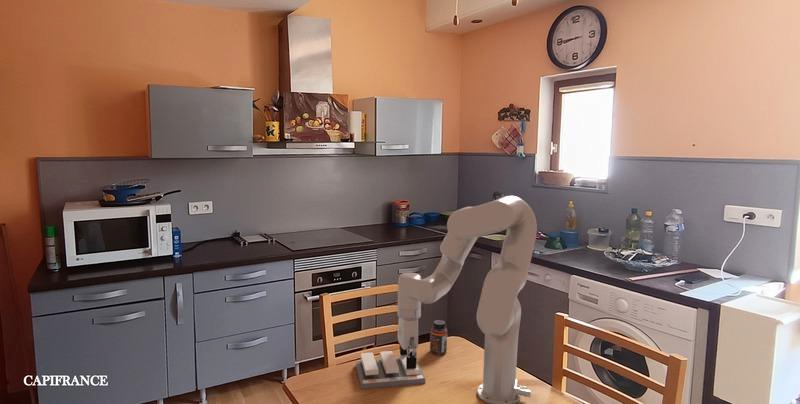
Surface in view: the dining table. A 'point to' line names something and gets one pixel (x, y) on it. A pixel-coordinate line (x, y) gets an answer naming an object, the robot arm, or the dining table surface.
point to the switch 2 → (407, 371)
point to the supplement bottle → (438, 338)
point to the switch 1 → (369, 363)
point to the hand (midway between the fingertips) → (407, 361)
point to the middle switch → (389, 362)
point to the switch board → (387, 376)
